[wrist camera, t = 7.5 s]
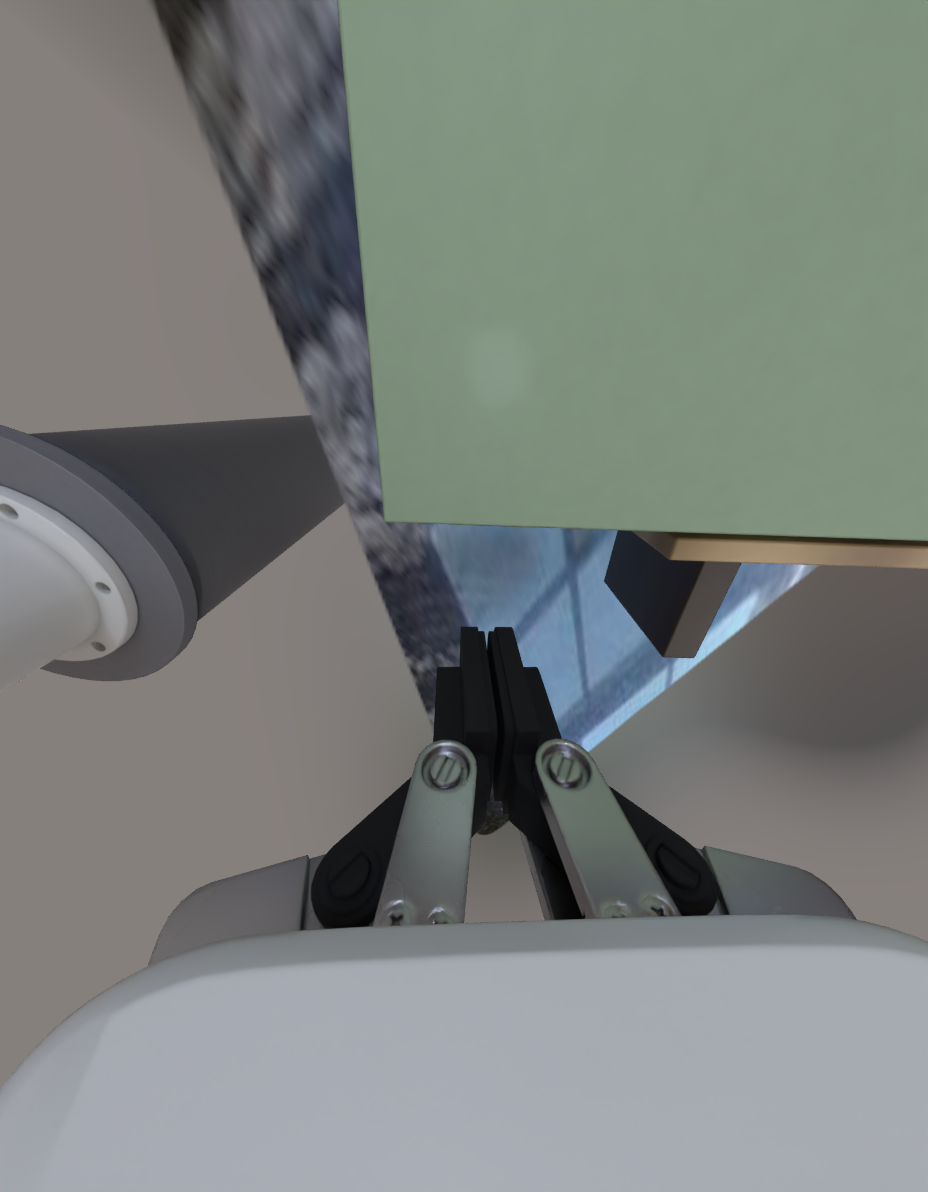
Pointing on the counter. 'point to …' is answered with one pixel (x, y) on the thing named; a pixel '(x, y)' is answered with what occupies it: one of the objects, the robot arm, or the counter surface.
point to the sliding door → (720, 574)
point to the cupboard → (645, 262)
